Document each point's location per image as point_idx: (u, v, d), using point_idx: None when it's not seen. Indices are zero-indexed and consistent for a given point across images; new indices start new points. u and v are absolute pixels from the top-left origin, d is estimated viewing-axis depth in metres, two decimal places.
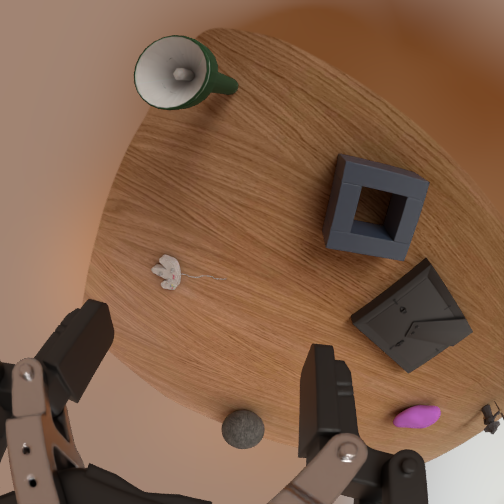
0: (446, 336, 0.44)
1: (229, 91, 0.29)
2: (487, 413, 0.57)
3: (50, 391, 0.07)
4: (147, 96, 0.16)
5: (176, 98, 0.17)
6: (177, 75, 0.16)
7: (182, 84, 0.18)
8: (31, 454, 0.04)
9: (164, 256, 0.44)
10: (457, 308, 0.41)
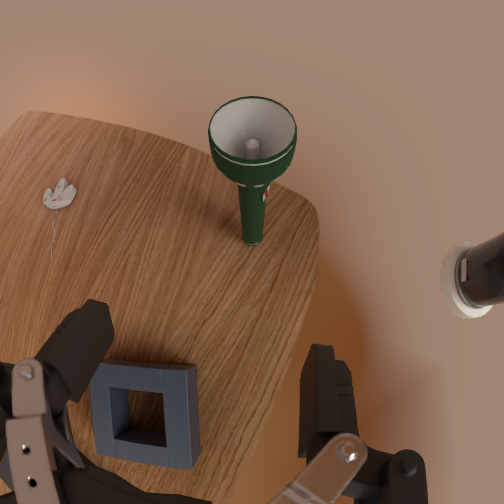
0: None
1: (245, 232, 0.30)
2: None
3: (50, 391, 0.07)
4: (225, 112, 0.16)
5: (222, 142, 0.17)
6: (250, 141, 0.17)
7: (241, 154, 0.19)
8: (31, 454, 0.04)
9: (74, 189, 0.36)
10: None
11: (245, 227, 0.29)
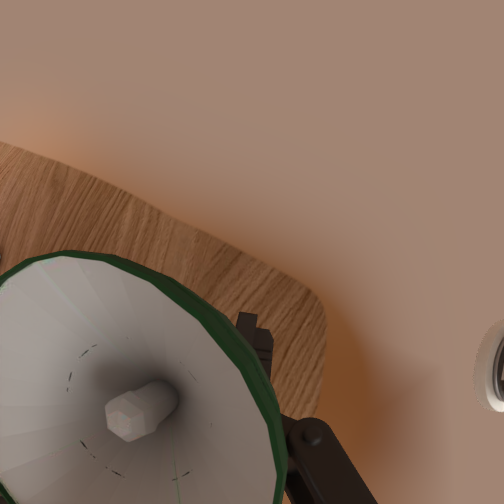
0: None
1: None
2: None
3: None
4: (8, 314, 0.03)
5: (37, 409, 0.04)
6: (110, 422, 0.04)
7: (122, 388, 0.06)
8: None
9: None
10: None
11: None
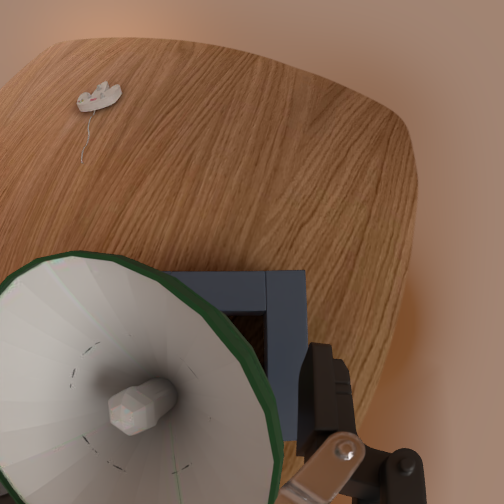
0: None
1: None
2: None
3: None
4: (16, 312, 0.03)
5: (41, 405, 0.04)
6: (114, 416, 0.04)
7: (122, 385, 0.06)
8: None
9: (120, 90, 0.28)
10: None
11: None
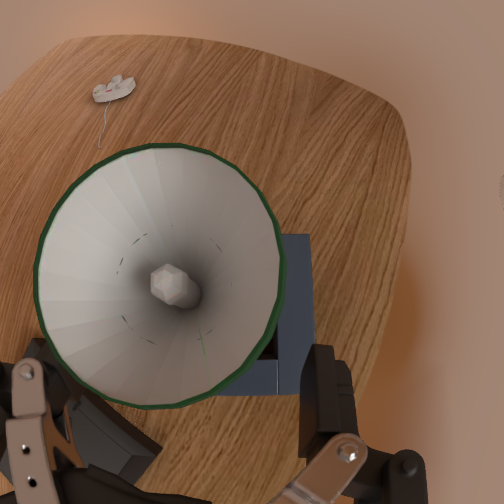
0: None
1: None
2: None
3: (50, 391, 0.07)
4: (89, 199, 0.06)
5: (91, 283, 0.06)
6: (156, 280, 0.06)
7: None
8: (31, 454, 0.04)
9: (134, 82, 0.30)
10: None
11: None
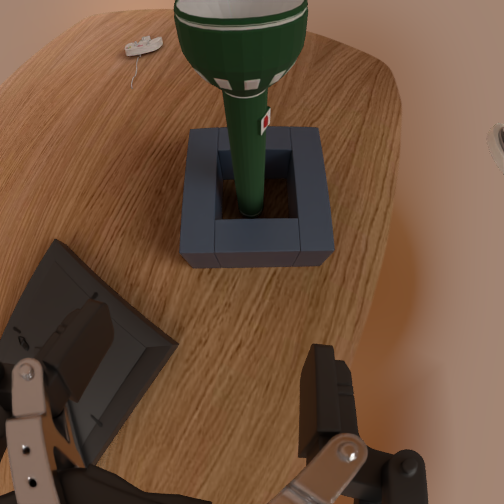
0: None
1: (240, 196, 0.23)
2: None
3: (50, 391, 0.07)
4: None
5: None
6: None
7: None
8: (31, 454, 0.04)
9: (161, 41, 0.33)
10: (99, 446, 0.19)
11: (239, 186, 0.21)
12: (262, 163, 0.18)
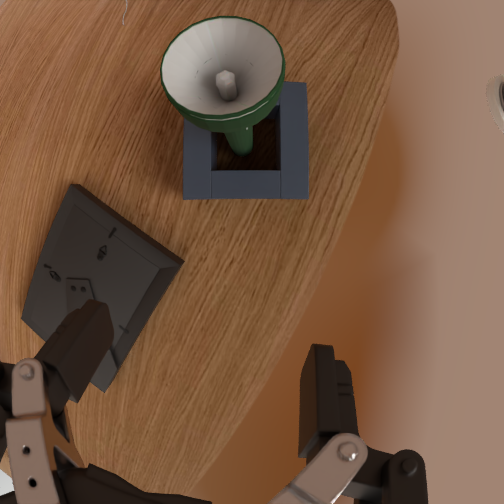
0: None
1: (231, 147, 0.25)
2: None
3: (50, 391, 0.07)
4: (186, 40, 0.10)
5: (184, 80, 0.11)
6: (221, 76, 0.11)
7: (213, 86, 0.13)
8: (31, 454, 0.04)
9: None
10: (127, 348, 0.31)
11: (230, 144, 0.24)
12: (249, 135, 0.21)
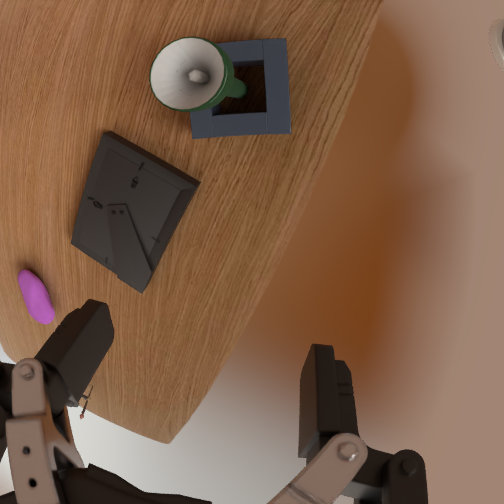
0: (124, 260, 0.43)
1: None
2: None
3: (50, 391, 0.07)
4: (163, 55, 0.15)
5: (168, 81, 0.16)
6: (191, 75, 0.16)
7: None
8: (31, 454, 0.04)
9: None
10: (158, 255, 0.43)
11: None
12: (235, 90, 0.25)
